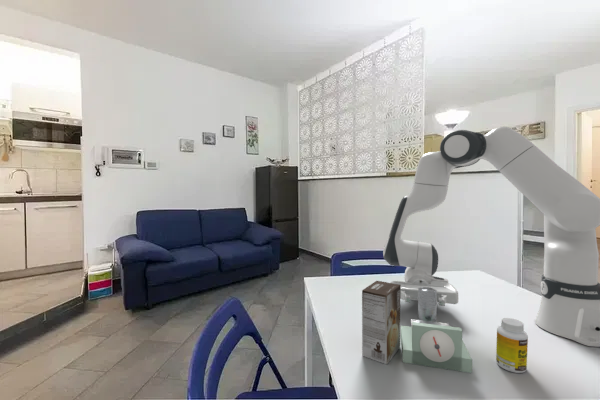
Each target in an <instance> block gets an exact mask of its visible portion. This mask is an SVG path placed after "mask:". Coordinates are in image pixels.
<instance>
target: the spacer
mask: <svg viewBox="0 0 600 400" xmlns="http://www.w3.org/2000/svg"><path fill="white" fill-rule="evenodd" d="M437 303H438V302H437V290H435V289H433V288H429V287H420V288H418V301H417V320H422V321H431V322H437V305H438V304H437Z"/></svg>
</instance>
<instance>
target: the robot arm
mask: <svg viewBox="0 0 600 400" xmlns="http://www.w3.org/2000/svg"><path fill="white" fill-rule="evenodd" d="M480 160H485V161H487V162H488V163H490V164H491V165H492V166H493V167H494V168H495V169H496V170H497V171H499V173H500V174H501V175H502V176H504V178H505V179H507V181H509V182H510V183H511V184H512V185H513V186H514V187H515V188H516V189H517V190H518V191H519V192H520V193H521V194H522V195H523V196H524V197H525V198H526V199H528V201H530V203H532V204H533V205H534V207H536V209H538V211H540V212H541V213H542V214H543V239H544V241H543V245H544V248H543V249H544V251H543V254H544V255H543V256H544V257H543V274H542V275H541V280H540V281H541V282H540V293H541V300H540V304H539V309H538V312H537V315H536V316H535V319H534V323H535V324H536V325H537V326H538V327H540V328H541V329H542V330H544V331H547V332H549V333H551V334H554V335H557V336H559V337H562V338H566V339H569V340H571V341H574V342H577V343H579V344H582V345H584V346H588V347H596V348H597V347H600V283H599V281H598V280H599V259H600V258H599V255H600V253H599V249H598V248H599V247H598V242H597V231H596V230H597V227H599V226H600V197H599V196H598V195H596V194H595V193H594V192H593V191H592V190H590V189H589V188H588V187H587V186H585V185H584V184H583V183H582V182H580V181H579V180H578V179H576V177H574V176H573V175H571V174H570V173H569V172H568V171H566V170H565V169H564V168H562V167H561V166H560V165H558V164H557V163H556V162H554V161H553V160H552V158H550V157H549V156H548V155H547V154H546V153H544V151H542V150H541V149H540V148H539V147H537V146H536V145H535V144H534V143H533V142H532V141H530V140H529V139H528V138H526V137H525V136H524V135H523V134H521V133H519V132H518V131H516V130H515V129H513V128H510V127H508V126H505V125H504V126H498V127H495V128H493V129H491V130H490V131H488V132H487V133H486V134H483V133H481V132H475V131H471V130H467V129H456V130H453V131H451V132H449V133H448V134H446V135H445V136H444V137H443V138H442V139H441V142H440V146H439V151H429V152H427V153H423V154H422V155H421V157H420V158H419V161H418V163H417V167H416V171H415V175H414V181H413V186H412V189H411V190H410V192H409V193H408V194H407V195H405V196H403V197H402V199H401V200H400V202H399V206H398V208H397V210H396V213H395V216H394V219H393V220H394V221H393V223H392V226H391V229H390V232H389V235H388V238H387V240H386V242H385V244H384V246H383V250H382V251H383V252H382V254H383V259H384V260H385V262H386V263H387V264H388V265H390V266H393V267H394V266H397V267H406V269H405V270H404V277H403V278H404V281H400V280H397V281H396V280H392V281H391V282H390V283H393V284H399V285H401V286H400V300H403V301H404V303H411V301H417V302H418V288H420V287H429V288H433V289H435V290H437V303H438V304H437V305H439V306H441V307H445V306H446V304H451V305H457V304H459V291H458V290H457V288H456V287H455V286H454V285H453V284H451V283H449V280H448V279H447V278H444V277H438V276H434V274H435V273H437V269H438V268H439V267H438V266H439V253H438V251H437V249H436V248H435V246H434V245H433V244H432V243H430V242H429V243H428V242H423V241H416V240H408V239H403V238H402V234H403V231H404V228H405V225H406V222H407V221H408V218H409V217H411V216H412V215H414V214H416V213H421V212H425V211H429V210H433V209H435V208H437V207H439V206H441V205H442V204H443V203H444V202H445V200H446V198H447V194H448V188H449V181H450V176H451V173H452V171H453V170H454V169H459V168H465V167H469V166H473V165H475V164H477V163H478V162H479V161H480Z"/></svg>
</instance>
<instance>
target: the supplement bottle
mask: <svg viewBox="0 0 600 400" xmlns="http://www.w3.org/2000/svg"><path fill="white" fill-rule="evenodd" d="M500 323H501V324H500V325H498V326H497V328H496V350H495V351H496V352H495V353H496V354H495V361H496V364H497V365H498V366H499V367H500V368H502V369H504V370H506V371H508V372H510V373H514V374H522V373H525V372H526V371H527V367H528V342H529V340H528V338H529V336H528V334H527V332H525V328H524V323H523V322H522V321H520V320H519V319H515V318H511V317H510V318H509V317H503V318H502V319H501V322H500Z"/></svg>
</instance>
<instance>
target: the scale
mask: <svg viewBox="0 0 600 400" xmlns="http://www.w3.org/2000/svg"><path fill="white" fill-rule="evenodd" d="M400 348H401V355H402V363H405V364H412V365H416V366H417V365H418V366H424V367H430V368H431V367H432V368H437V369H444V370H449V371H456V372H463V373H470V374H472V373H473V359H472V356H471V355H470V352H469V350H468V348H467V346H466V344H465V342H464V340H463V329H462V327H457V326H451V325H449V326H442V325H434V324H425V323H417V322H412V327H411V326H407V325H400Z"/></svg>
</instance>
